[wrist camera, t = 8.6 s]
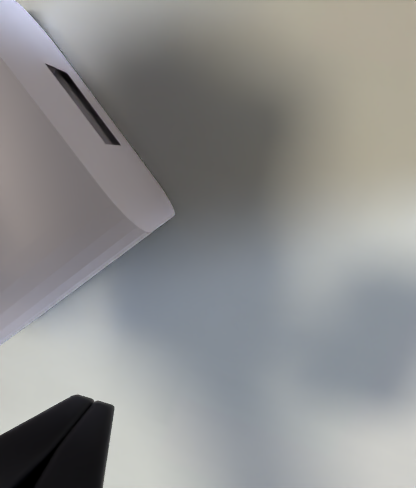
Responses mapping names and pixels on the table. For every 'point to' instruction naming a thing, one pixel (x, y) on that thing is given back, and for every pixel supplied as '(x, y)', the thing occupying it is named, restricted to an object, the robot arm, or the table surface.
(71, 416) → the robot arm
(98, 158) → the charger
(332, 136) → the table surface
